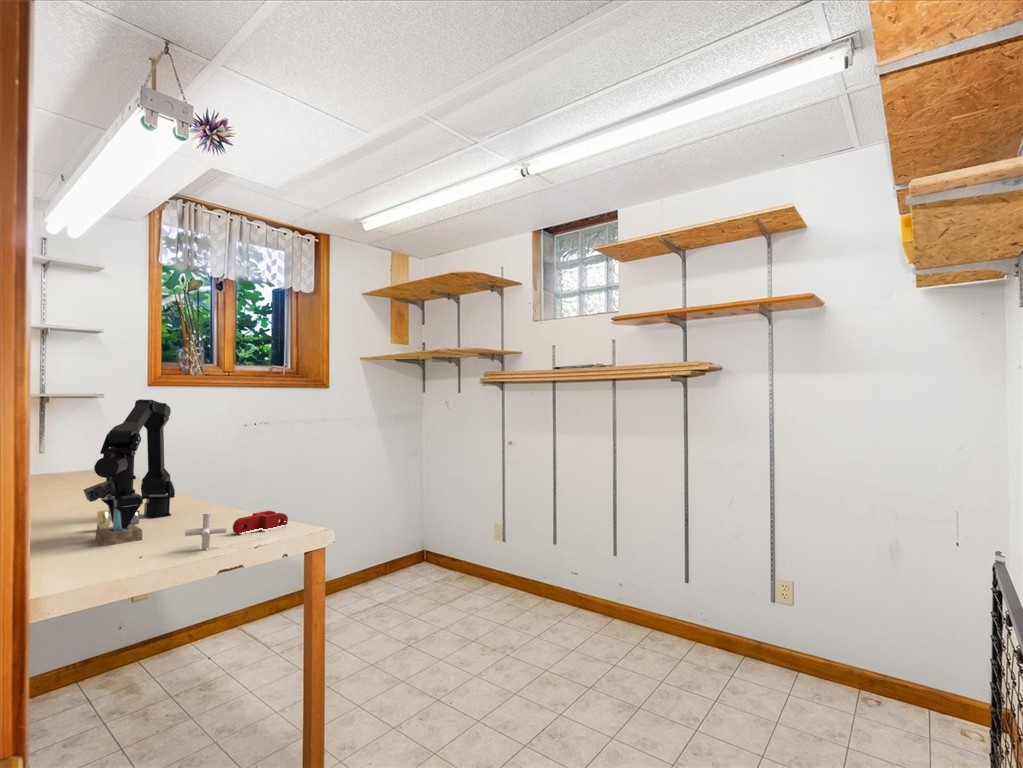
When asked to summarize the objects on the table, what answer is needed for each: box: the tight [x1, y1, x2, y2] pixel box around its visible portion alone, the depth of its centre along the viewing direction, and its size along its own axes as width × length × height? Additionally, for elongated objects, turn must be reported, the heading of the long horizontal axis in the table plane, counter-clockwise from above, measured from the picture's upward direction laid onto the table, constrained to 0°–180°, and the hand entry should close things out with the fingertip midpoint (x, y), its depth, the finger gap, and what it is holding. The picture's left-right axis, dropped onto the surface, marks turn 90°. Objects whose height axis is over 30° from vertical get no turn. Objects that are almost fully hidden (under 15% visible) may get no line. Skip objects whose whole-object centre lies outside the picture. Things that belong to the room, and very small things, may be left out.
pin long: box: [112, 509, 126, 532], centre depth 155 cm, size 3×3×9 cm
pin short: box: [129, 509, 140, 526], centre depth 174 cm, size 3×3×4 cm
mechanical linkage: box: [232, 510, 289, 534], centre depth 170 cm, size 16×7×5 cm, turn 149°
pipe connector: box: [184, 511, 228, 550], centre depth 149 cm, size 10×10×10 cm
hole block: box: [95, 524, 143, 547], centre depth 155 cm, size 9×9×3 cm
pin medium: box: [96, 509, 111, 529], centre depth 164 cm, size 3×3×6 cm
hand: (119, 525), depth 155 cm, fingers open, 9 cm apart
